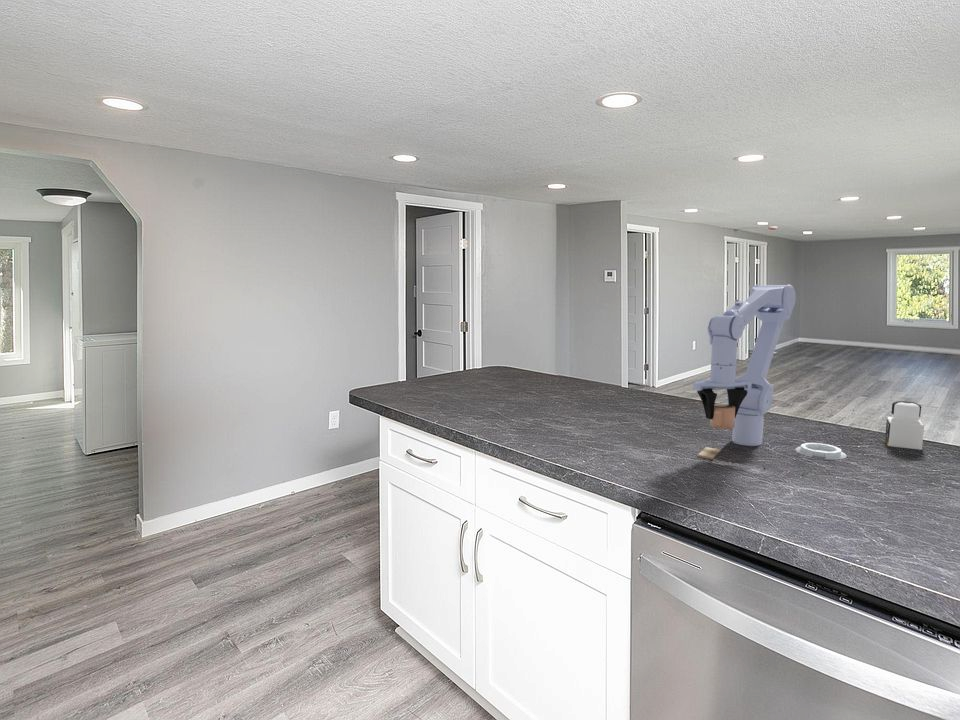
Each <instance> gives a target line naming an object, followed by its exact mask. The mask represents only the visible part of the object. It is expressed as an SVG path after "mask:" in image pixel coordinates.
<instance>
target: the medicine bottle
mask: <svg viewBox="0 0 960 720" xmlns="http://www.w3.org/2000/svg"><path fill="white" fill-rule="evenodd" d="M921 412H922V406H921V405H920V403H919V404H918V403H917V402H914V401H907V400H898V401H894V402H892V405H891V413H890V414H891V416H887V417H886V423H885V424H886V425H885V436H884V443H886V445H887V447H894V448H903V449H910V450H911V449H912V450H918V451H919V450H922V449H923V441H924V430H925V425H924V424H923V422H922V421H921V415H922V414H921Z"/></svg>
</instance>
